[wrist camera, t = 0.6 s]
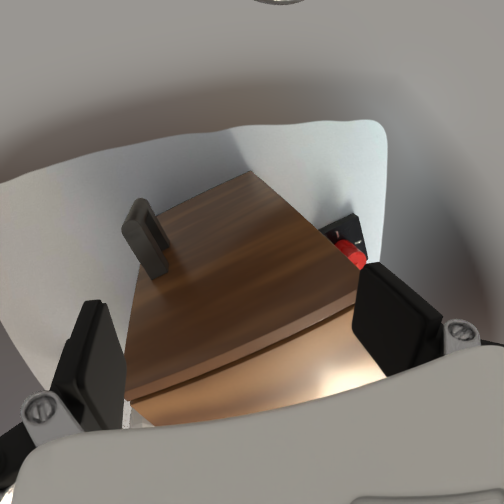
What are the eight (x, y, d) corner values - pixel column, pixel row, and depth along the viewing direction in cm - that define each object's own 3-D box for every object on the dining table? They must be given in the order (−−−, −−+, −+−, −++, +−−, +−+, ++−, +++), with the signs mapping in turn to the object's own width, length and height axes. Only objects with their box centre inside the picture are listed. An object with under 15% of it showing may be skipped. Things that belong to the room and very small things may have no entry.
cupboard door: (132, 184, 47) (54, 326, 15) (235, 134, 47) (349, 184, 16) (153, 223, 50) (127, 402, 19) (253, 175, 51) (374, 292, 19)
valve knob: (328, 245, 57) (343, 259, 52) (349, 235, 57) (364, 248, 52) (334, 264, 59) (348, 279, 54) (354, 254, 59) (369, 268, 54)
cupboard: (154, 224, 51) (129, 405, 19) (253, 177, 51) (376, 296, 19) (202, 305, 59) (236, 484, 27) (289, 264, 59) (391, 417, 27)
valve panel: (307, 235, 57) (311, 239, 56) (353, 213, 58) (358, 216, 56) (321, 277, 62) (325, 282, 60) (363, 255, 62) (368, 260, 60)
